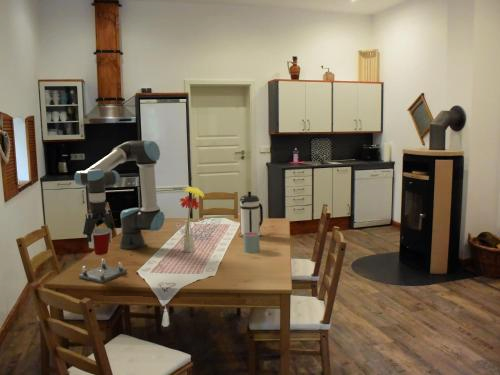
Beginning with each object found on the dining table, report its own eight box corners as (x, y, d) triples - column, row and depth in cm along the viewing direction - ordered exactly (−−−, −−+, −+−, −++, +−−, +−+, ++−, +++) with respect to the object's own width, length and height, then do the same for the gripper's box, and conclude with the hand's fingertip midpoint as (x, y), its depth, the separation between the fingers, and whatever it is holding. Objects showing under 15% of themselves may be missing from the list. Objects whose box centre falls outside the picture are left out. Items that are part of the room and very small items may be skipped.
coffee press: (263, 239, 270) (262, 193, 266) (238, 239, 270) (237, 193, 266) (263, 232, 287) (262, 188, 283) (239, 232, 288) (238, 189, 283)
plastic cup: (88, 257, 203) (87, 233, 201) (90, 251, 213) (88, 228, 211) (112, 255, 206) (111, 231, 204) (113, 249, 216) (111, 226, 214)
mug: (258, 253, 242) (257, 236, 240) (242, 252, 244) (241, 235, 242) (262, 246, 255) (261, 230, 253) (247, 245, 257) (246, 229, 255)
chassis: (104, 267, 222) (103, 257, 221) (126, 272, 214) (126, 262, 213) (79, 277, 208) (78, 267, 207) (102, 283, 200) (101, 272, 199)
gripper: (110, 196, 217) (113, 238, 220) (72, 204, 197) (76, 250, 200) (121, 197, 214) (123, 240, 217) (83, 205, 193) (87, 252, 197)
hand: (100, 244), depth 209 cm, fingers closed on plastic cup, 11 cm apart
